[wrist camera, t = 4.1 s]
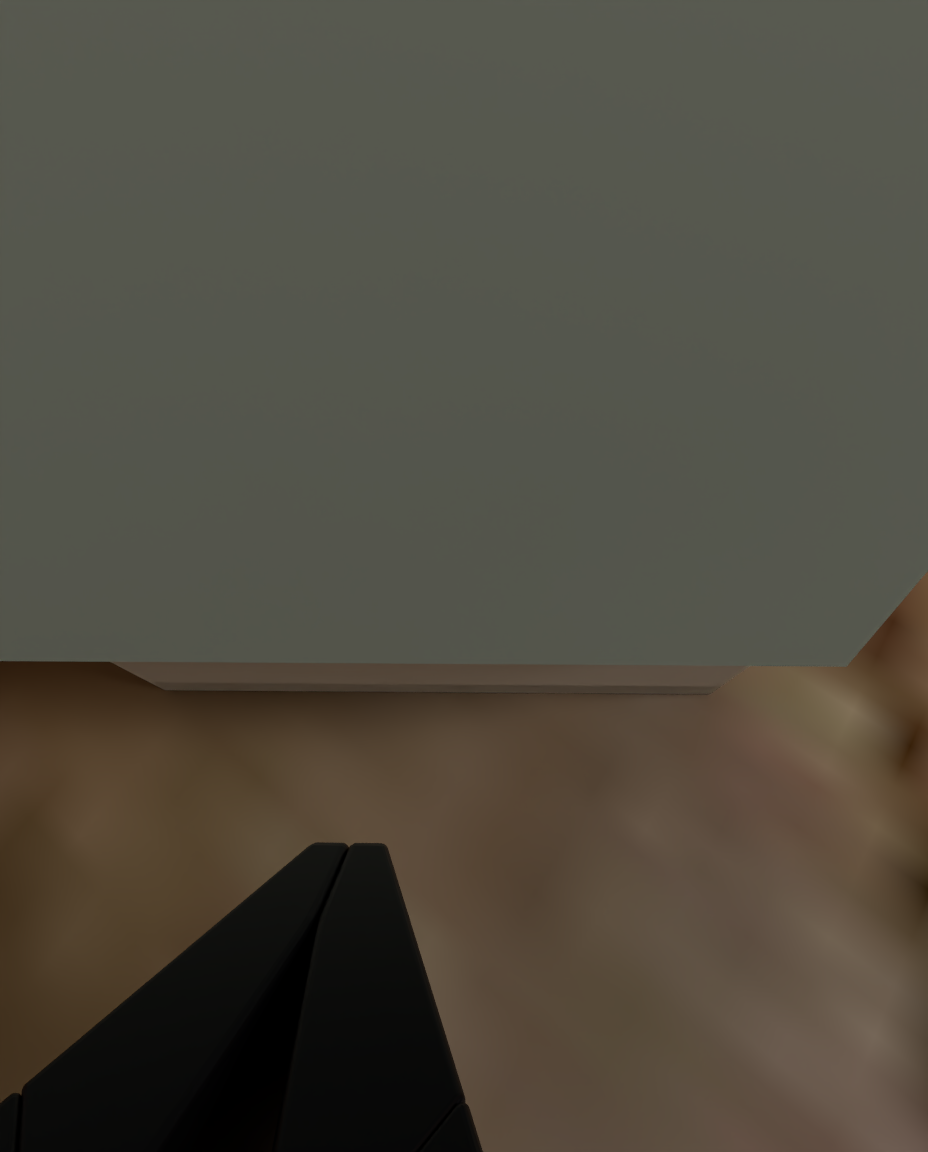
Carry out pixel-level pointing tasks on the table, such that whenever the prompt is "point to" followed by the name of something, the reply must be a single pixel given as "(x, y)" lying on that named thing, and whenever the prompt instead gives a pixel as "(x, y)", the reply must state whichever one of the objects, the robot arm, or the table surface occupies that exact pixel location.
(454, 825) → the table surface
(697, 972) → the table surface
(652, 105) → the chest lid
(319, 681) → the chest
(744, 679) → the table surface
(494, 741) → the table surface
